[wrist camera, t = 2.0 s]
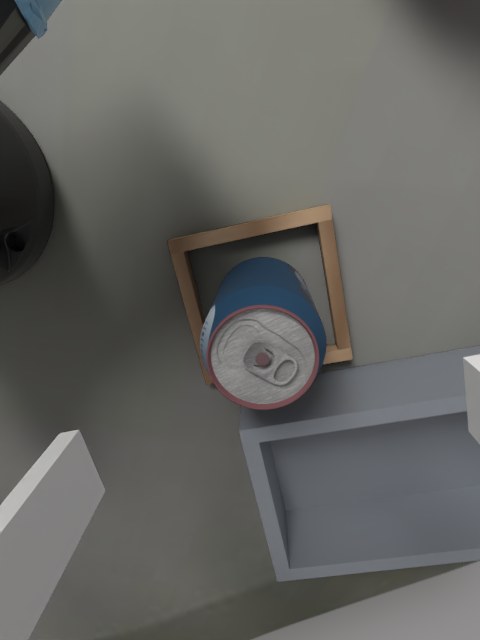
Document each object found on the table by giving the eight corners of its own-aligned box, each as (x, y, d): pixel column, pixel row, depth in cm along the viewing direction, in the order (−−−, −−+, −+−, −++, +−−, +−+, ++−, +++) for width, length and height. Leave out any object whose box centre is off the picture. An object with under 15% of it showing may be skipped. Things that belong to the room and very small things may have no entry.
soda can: (204, 312, 32) (170, 380, 21) (247, 237, 30) (237, 267, 18) (277, 353, 33) (284, 441, 21) (324, 283, 31) (360, 339, 19)
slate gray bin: (275, 517, 38) (277, 581, 32) (243, 385, 34) (238, 430, 28) (521, 485, 35) (576, 549, 29) (520, 338, 31) (585, 376, 25)
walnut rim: (208, 378, 34) (206, 384, 33) (170, 239, 30) (166, 241, 29) (349, 353, 32) (352, 359, 31) (327, 204, 29) (330, 204, 28)
